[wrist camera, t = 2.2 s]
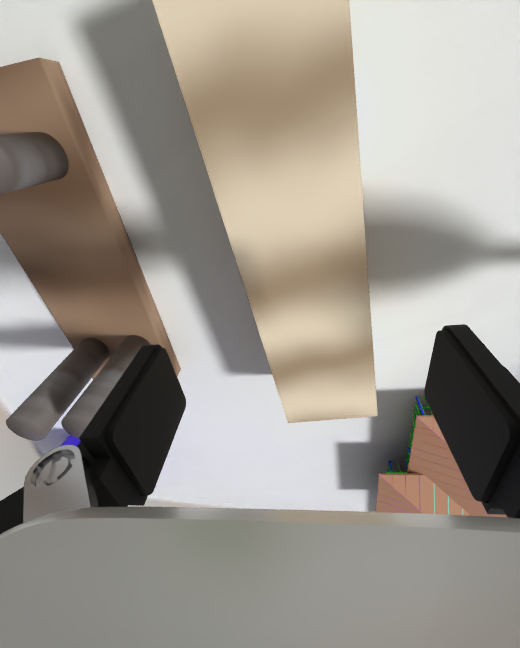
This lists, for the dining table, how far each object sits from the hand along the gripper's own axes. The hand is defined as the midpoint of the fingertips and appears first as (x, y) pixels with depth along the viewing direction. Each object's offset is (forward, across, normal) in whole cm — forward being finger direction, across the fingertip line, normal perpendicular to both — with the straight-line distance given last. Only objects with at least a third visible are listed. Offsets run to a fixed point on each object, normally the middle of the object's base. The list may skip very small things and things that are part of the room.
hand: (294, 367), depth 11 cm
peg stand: (+12, +15, -1) cm, 20 cm away
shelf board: (+12, -1, -1) cm, 12 cm away
